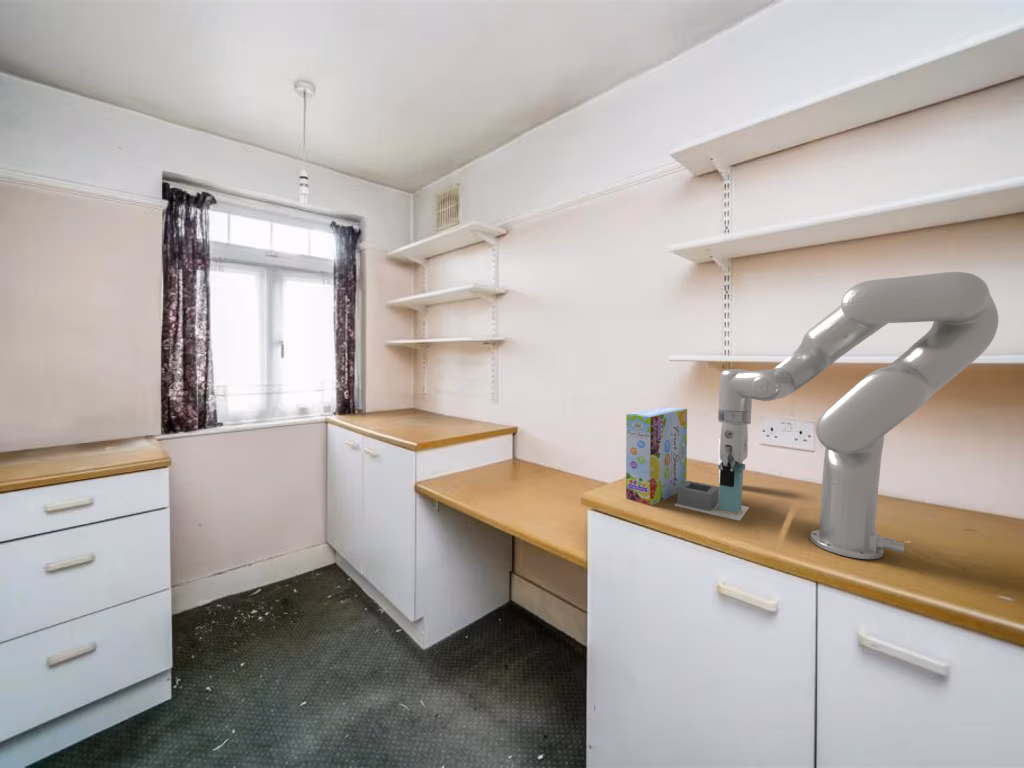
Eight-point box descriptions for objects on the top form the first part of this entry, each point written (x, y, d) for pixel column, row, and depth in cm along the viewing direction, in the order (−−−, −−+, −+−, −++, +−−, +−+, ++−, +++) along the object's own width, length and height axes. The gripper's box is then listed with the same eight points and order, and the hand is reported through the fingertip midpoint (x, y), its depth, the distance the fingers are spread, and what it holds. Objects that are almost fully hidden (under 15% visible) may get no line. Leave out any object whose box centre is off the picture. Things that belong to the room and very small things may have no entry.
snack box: (660, 485, 134) (663, 405, 132) (687, 492, 128) (690, 408, 126) (622, 501, 120) (625, 412, 118) (650, 510, 113) (653, 415, 111)
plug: (743, 508, 111) (745, 464, 110) (738, 514, 107) (740, 468, 106) (721, 504, 114) (723, 460, 113) (716, 509, 110) (718, 464, 109)
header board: (749, 510, 113) (750, 490, 113) (739, 524, 104) (740, 502, 104) (687, 497, 123) (688, 479, 123) (673, 508, 114) (674, 489, 114)
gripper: (743, 422, 100) (740, 492, 101) (757, 414, 113) (753, 476, 114) (709, 419, 105) (706, 486, 106) (726, 411, 118) (723, 471, 119)
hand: (731, 481), depth 110 cm, fingers open, 9 cm apart
